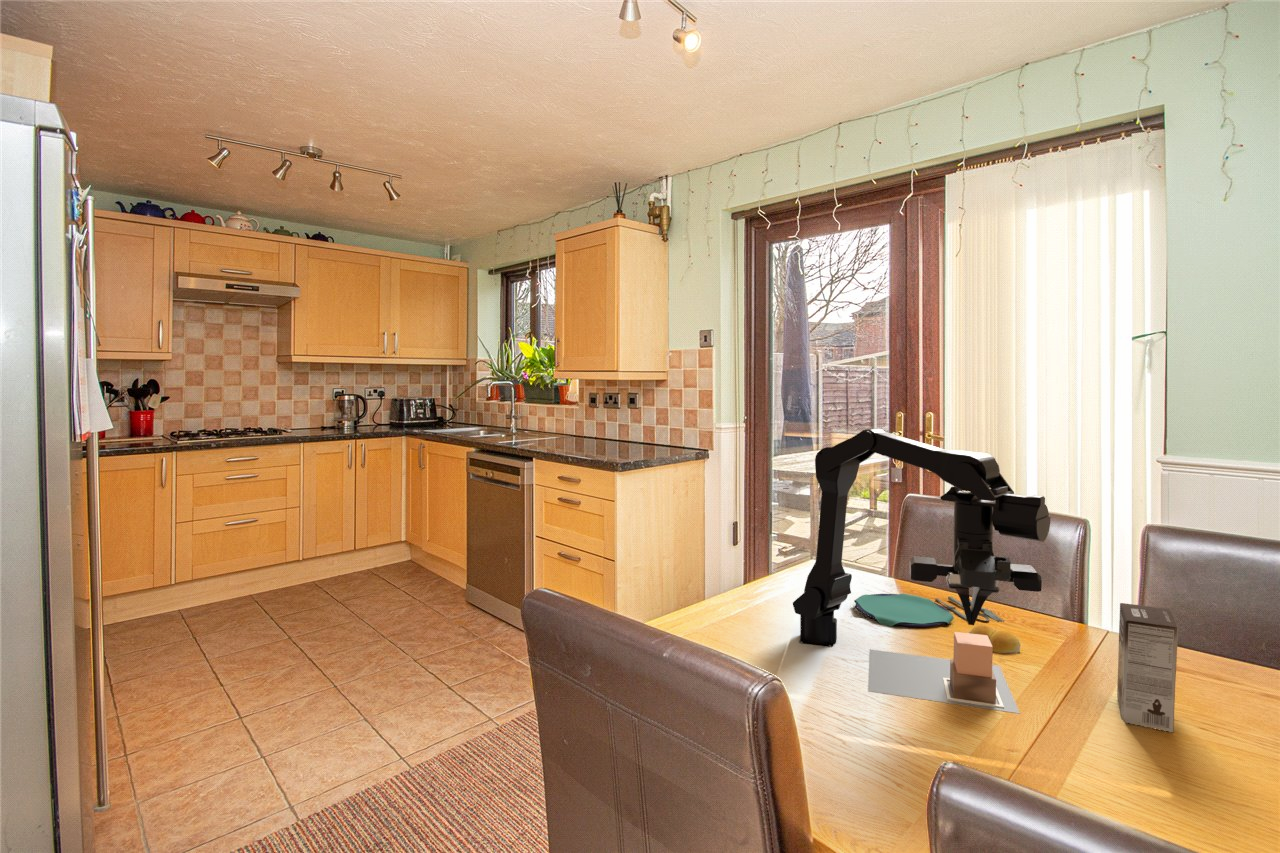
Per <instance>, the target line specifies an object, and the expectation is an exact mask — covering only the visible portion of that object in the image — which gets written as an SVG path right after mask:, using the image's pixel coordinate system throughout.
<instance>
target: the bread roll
mask: <svg viewBox="0 0 1280 853" xmlns="http://www.w3.org/2000/svg"><path fill="white" fill-rule="evenodd" d="M967 633H970V634H980V635H987V636H988V638H989V640H990V642H991V644H992V646H993V653H999V654H1018V653H1019V652H1020V650H1021V642H1020V639H1019V637H1017V635H1016V634H1015V633H1012V632H1011V631H1010V632H1009V631H1007V630H1002V629H1001V630H1000V629H999V630H998V629H995V628H994V627H993V626H991V625H989V624H988V625H987V624H977V625H975V626H974V627H972V629H970V630H969V631H967Z"/></svg>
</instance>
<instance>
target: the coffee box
mask: <svg viewBox="0 0 1280 853" xmlns="http://www.w3.org/2000/svg"><path fill="white" fill-rule="evenodd" d="M1118 624H1119V625H1118V656H1117V658H1118V659H1117V660H1118V661H1117V686H1116V687H1117V689H1116V690H1117V691H1116V692H1117V693H1116V694H1117V696H1116V698H1117V702H1118V707H1119V712H1120V718H1121V720H1122V722H1123V723H1124V722H1125V723H1124V724H1128V723H1130V725H1133V724H1135V725H1134V726H1137V725H1141V726H1140V727H1142V726H1146V727H1145V728H1147V727H1151V728H1150V729H1152V728H1156V729H1160V730H1159V731H1161V730H1165V731H1164V732H1166V731H1169V732H1168V733H1171V732H1173V733H1174V731H1175V730H1174V726H1175V723H1174V722H1175V703H1176V700H1175V699H1176V698H1175V697H1176V682H1177V681H1176V680H1177V677H1176V676H1177V661H1178V642H1179V640H1178V638H1179V626H1178V624H1177V622H1176V620H1175V618H1174V615H1173V614H1172V612H1171V609H1169V608H1164V607H1158V606H1157V607H1156V606H1155V607H1154V606H1149V605H1141V604H1131V603H1123V602H1122V603H1121V602H1120V603H1119V622H1118ZM1156 729H1155V730H1156Z"/></svg>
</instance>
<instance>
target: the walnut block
mask: <svg viewBox="0 0 1280 853" xmlns="http://www.w3.org/2000/svg"><path fill="white" fill-rule="evenodd" d="M949 659H950V658H949ZM953 659H954V658H953ZM953 659H950V684H951V689H952V693H953V697H954V698H956V699H963V700H970V701H977V702H984V703H991V704H996V678H995V675H994V673H993V670H992V677H984V676H976V675H968V674H960V673H957V671H956V667H955V664H954V661H953Z"/></svg>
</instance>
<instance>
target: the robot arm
mask: <svg viewBox="0 0 1280 853" xmlns="http://www.w3.org/2000/svg"><path fill="white" fill-rule="evenodd" d="M875 454H877V455H881V456H884V457H887V458H891V459H892V460H895V461H899V462H902V463H905V464H908V465H911V466H914V467H917V468H921V469H924V470H927V471H928V472H931V473H933V474H935V475H936V476H937V477H938V478H940V479H941V480H942V481H943V482H945V483H947V484H949V485H951V487H950V488H949V489H948V491H947V492H945V493H944V494H943V495H941V496H940V500H941V501H944V502H952V503H953V539H952V547H953V548H952V564H944V563H937V562H936V561H937V560H936V558H935V557H929V556H928V557H927V556H916V555H913V556H911V557H910V559H909V566H908V567H909V577H910V580H913V582H914V581H918V582H927V583H932V582H934V581H935V580H936V579H938V577H939V576H940V577H945V581H946V583H947V584H946V585H947V587H948V588H949V589H952V590H955V591H956V593H957V595H958V597H959V599H960V603H962V606H963V612H964V615H965V616H966V619H967V620H966V622H967V625H968V626H974V625H975V624H976V621H977V620H976V619H977V618H978V616H980V615H979V613H981V608H983V605H984V603H985V601H986V600H987V599H988V597H989V596H990V595H992V593H993V594H995V593H1000V588H999V586H998V584H1000V582H1007V583H1008V582H1009V583H1012V584H1013V586H1014V587H1015V588H1016V589H1017V590H1019V591H1026V592H1036V593H1037V592H1039V593H1040V592H1042V582H1043V581H1042V575H1041V574H1040V573H1039V572H1038V571H1037V569H1035V568H1034V567H1033V566H1032V565H1031V564H1029V565H1028V564H1019V563H1018V564H1017V563H1016V564H1015V563H1011V559H1010V557H1009V556H999V555H996V556H995V555H994V550H993V548H994V542H993V541H994V531H996V532H998V533H999V535H1001V536H1004V537H1011V538H1017V539H1021V540H1022V539H1024V540H1029V541H1035V542H1042V543H1043V542H1045V541H1046V539H1047V538H1048V535H1049V532H1050V527H1051V516H1050V515H1049V514H1050V513H1049V509H1048V506H1047V504H1046V497H1045V496H1044V495H1036V494H1035V495H1026V494H1025V495H1024V494H1015V492H1014V490H1013V489H1012V487H1011V486H1010V485H1009V483H1008V482H1007V480H1006V479H1005V478H1004V476H1003V475H1002V474H1001V471H1000V470H1001V469H1000V466H999V463H998V462H997V461H996V460H997V459H996V458H995V457H994V456H992V455H991V454H989V453H985V452H980V451H979V452H978V451H970V450H969V451H968V450H957V449H945V448H941V447H938V446H934V445H931V444H927V443H924V442H920V441H917V440H914V439H911V438H907V437H904V436H900V435H897V434H894V433H891V432H887V431H884V429H881V428H876V427H875V428H867V429H866V428H865V429H862V430H861V431H860V432H858V433H857V434H856V435H854V436H852V437H849V438H847V439H845V440H844V441H841V442H840V443H837V444H834V446H826V447H823V448H822V449H820V450H819V451H818V452H817V453H816V455H815V458H814V466H815V468H814V469H815V478H816V480H817V483H818V485H819V487H820V491H821V498H820V509H819V521H818V531H817V546H816V555H815V563H814V564H813V566H812V568H811V569H810V571H809V573H808V575H807V577H806V581H805V586H804V590H803V591H804V592H803V593H802V594H801V595H800V596H799V597H797V598H796V599H795V600H794V601H792V607H793V609H794V614H797V615H799V616H800V617H799V618H800V621H799V622H800V623H799V624H800V625H799V626H800V627H799V629H800V631H799V632H800V635H799V636H800V638H799V640H798V643H799V644H802V645H803V644H804V645H809V646H810V645H811V646H812V645H813V646H818V647H819V646H820V647H826V648H833V647H834V644H836V643H837V639H838V638H837V637H838V619H837V618H835V611H838V610H840V608H841V605H842V603H843V602H845V601H846V600H847V598H848V595H850V594H852V590H851V582H852V574H851V573H847V572H846V571H845V569H844V567H843V561H842V560H843V550H844V538H845V527H846V517H847V506H848V505H847V504H848V495H849V492H850V490H851V488H852V486H853V485H854V482H855V481H856V479H857V476H858V472H859V469H860V468H859V467H860V464H861V463H863V462H864V461H865V462H866V461H867V460H869V459H870V458H871V457H872V456H874V455H875ZM971 588H972V597H971V599H970V589H971ZM970 600H971V601H972V603H971V605H970Z"/></svg>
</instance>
